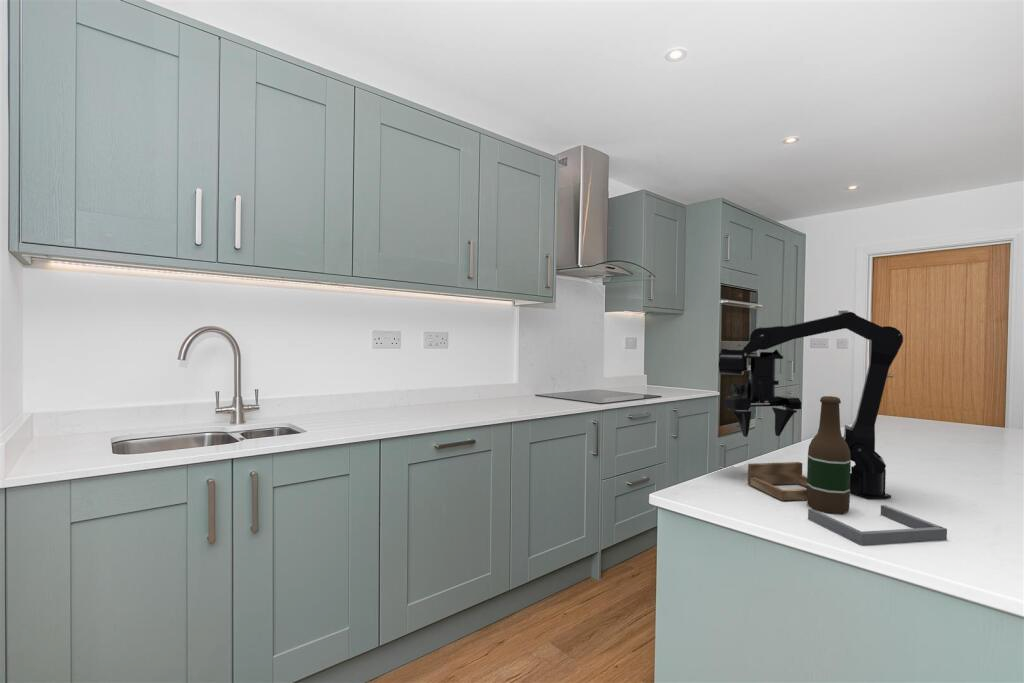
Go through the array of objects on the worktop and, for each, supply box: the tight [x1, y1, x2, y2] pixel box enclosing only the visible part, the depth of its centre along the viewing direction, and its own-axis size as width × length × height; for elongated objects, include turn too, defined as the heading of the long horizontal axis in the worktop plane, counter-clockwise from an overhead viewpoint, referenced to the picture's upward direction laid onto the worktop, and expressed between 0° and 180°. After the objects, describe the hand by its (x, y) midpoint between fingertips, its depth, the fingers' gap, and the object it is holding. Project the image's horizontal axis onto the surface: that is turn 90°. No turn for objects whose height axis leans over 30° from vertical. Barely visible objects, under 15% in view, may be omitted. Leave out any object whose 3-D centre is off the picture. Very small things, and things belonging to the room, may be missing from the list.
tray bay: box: [807, 504, 948, 546], centre depth 95 cm, size 18×12×2 cm
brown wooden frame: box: [747, 461, 807, 501], centre depth 117 cm, size 14×12×5 cm
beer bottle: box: [806, 395, 852, 515], centre depth 106 cm, size 8×8×24 cm
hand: (761, 436), depth 128 cm, fingers open, 9 cm apart
